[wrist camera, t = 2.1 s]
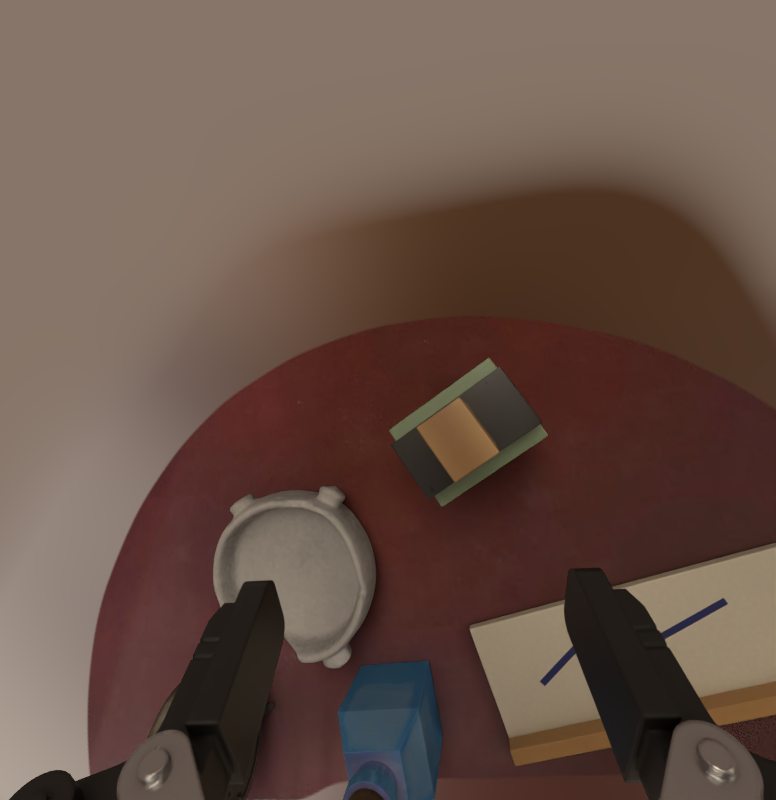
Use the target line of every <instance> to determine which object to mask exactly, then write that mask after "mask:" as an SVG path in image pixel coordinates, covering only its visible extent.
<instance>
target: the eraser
mask: <svg viewBox="0 0 776 800" xmlns="http://www.w3.org/2000/svg"><path fill="white" fill-rule="evenodd" d="M541 423H542V421H541V420H540V418H539V417H538V416H537V414H536V413H535V412H534V410H533V409H532V408H531V407H530V405H529V404H528V403H527V401H526V400H525V399H524V397H523V396H522V395H521V393H520V392H519V391H518V390H517V388H516V387H515V386H514V384H513V383H512V382H511V380H510V379H509V378H508V376H507V375H506V374H505V372H504V371H503V370H502V369H501V367H498V368H497V369H496V370H494V371H493V372H491V373H490V374H489V375H487V376H486V377H484V378H483V379H482V380H480V381H479V382H478V383H476V384H475V385H473V386H472V387H471V388H469V389H468V390H466V391H465V392H464V393H462V394H461V395H459V396H458V397H457V398H455V399H454V400H452V401H451V402H450V403H448V404H447V405H445V406H444V407H443V408H441V409H440V410H438V411H437V412H436V413H434V414H433V415H432V416H430V417H429V418H427V419H426V420H425V421H423V422H422V423H420V424H419V425H418V426H416V427H415V428H413V429H412V430H411V431H409V432H408V433H406V434H405V435H404V436H402V437H401V438H399V439H398V440H397V441H395V442H394V443H393V444H391V446H392V447H393V449H394V450H395V452H396V453H397V455H398V456H399V457H400V459H401V460H402V462H403V463H404V465H405V466H406V468H407V469H408V471H409V472H410V473H411V475H412V476H413V478H414V479H415V481H416V482H417V484H418V485H419V487H420V488H421V489H422V491H423V492H424V494H425V495H426V497H427V498H428V499H431V498H432V497H434V496H435V495H437V494H438V493H440V492H441V491H443V490H444V489H446V488H447V487H449V486H450V485H452V484H453V483H454V482H458V481H459V480H461V479H462V478H464V477H465V476H467V475H468V474H469V473H471V472H472V471H474V470H475V469H477V468H478V467H480V466H481V465H483V464H484V463H486V462H487V461H489V460H490V459H492V458H493V457H494V456H496V455H497V454H499V452H500V451H502V450H503V449H504V448H506V447H507V446H509V445H510V444H512V443H513V442H515V441H516V440H518V439H519V438H521V437H522V436H524V435H525V434H527V433H528V432H529V431H531V430H532V429H534V428H535V427H537V426H538V425H540V424H541Z"/></svg>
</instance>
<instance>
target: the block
mask: <svg viewBox="0 0 776 800" xmlns="http://www.w3.org/2000/svg"><path fill="white" fill-rule="evenodd" d="M496 369H497V367H496V366H495V365H494V363H493V362H492V361H491V359H490V358H488V359H486V360H485V361H484V362H482V363H481V364H480V365H478V366H477V367H475V368H474V369H473V370H471V371H470V372H468V373H467V374H466V375H464V376H463V377H462V378H460V379H459V380H457V381H456V382H455V383H453V384H452V385H451V386H449V387H448V388H446V389H445V390H444V391H442V392H441V393H440V394H438V395H437V396H435V397H434V398H433V399H431V400H430V401H428V402H427V403H426V404H424V405H423V406H422V407H420V408H419V409H417V410H416V411H415V412H413V413H412V414H411V415H409V416H408V417H406V418H405V419H404V420H402V421H401V422H399V423H398V424H397V425H395V426H394V427H393V428H391V429H390V430H389V431H390V433H391V434H392V436H393V437H394V439H395V440H396V441H397V440H398V439H399V438H401V437H402V436H404V435H405V434H406V433H408V432H409V431H411V430H412V429H413V428H415V427H416V426H418V425H419V424H420V423H422V422H423V421H425V420H426V419H427V418H429V417H430V416H432V415H433V414H434V413H436V412H437V411H438V410H440V409H441V408H443V407H444V406H445V405H447V404H448V403H450V402H451V401H452V400H454V399H455V398H457V397H458V396H459V395H461V394H462V393H464V392H465V391H466V390H468V389H469V388H471V387H472V386H473V385H475V384H476V383H478V382H479V381H480V380H482V379H483V378H484V377H486V376H487V375H489V374H490V373H491V372H493V371H494V370H496ZM547 436H548V434H547V433H546V431H545V430H544V429H543V428H542V426H541V425H538V426H537V427H535V428H534V429H532V430H531V431H529V432H528V433H527V434H525V435H524V436H522V437H521V438H519V439H518V440H516V441H515V442H513V443H512V444H510V445H509V446H507V447H506V448H504V449H503V450H502V451H500V452H499V454H497V455H496V456H494V457H493V458H492V459H490V460H489V461H487V462H486V463H484V464H483V465H481V466H480V467H478V468H477V469H475V470H474V471H472V472H471V473H469V474H468V475H467V476H465V477H464V478H462V479H461V480H459V481H458V482H454V483H453V484H452V485H450V486H449V487H447V488H446V489H444V490H443V491H441V492H440V493H438V494H437V495H435V496H434V497H435V498H436V499H437V501H438V502H439V504H440V505H441V506H442V507H443V506H444V505H446V504H447V503H449V502H450V501H452V500H453V499H455V498H456V497H458V496H459V495H461V494H462V493H464V492H465V491H467V490H468V489H470V488H471V487H473V486H474V485H476V484H477V483H479V482H480V481H482V480H483V479H485V478H486V477H487V476H489V475H490V474H492V473H493V472H495V471H496V470H498V469H499V468H501V467H502V466H504V465H505V464H507V463H508V462H510V461H511V460H513V459H514V458H516V457H517V456H519V455H520V454H522V453H523V452H525V451H526V450H528V449H529V448H531V447H532V446H534V445H535V444H536V443H538V442H539V441H541V440H542V439H544V438H545V437H547Z"/></svg>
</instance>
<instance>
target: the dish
mask: <svg viewBox="0 0 776 800" xmlns="http://www.w3.org/2000/svg"><path fill="white" fill-rule="evenodd" d="M344 500H345V495H344V493H342V492H341V491H340V490H339V489H338V488H337V487H336V486H330V487H327V486H322V487H321V488H320V490H319V493H318V492H313V491H306V490H288V491H281V492H277V493H273V494H270V495H267V496H265V497H262V498H259V499H256V498H255V497H254V496H253V495H252V494H249V495H247V496H245V497H243V498H241V499H240V500H238V501H237V502H236V503H235V504H233V505H232V507H231V508H230V511H231V513H232V514H233V515H234V518H233V520H232V521H231V522H230V523H229V524H228V526H227V527H226V528H225V530H224V531H223V533H222V535H221V537H220V540H219V542H218V545H217V548H216V552H215V556H214V566H213V581H214V589H215V593H216V596H217V598H218V601H219V604H220V607H221V606H222V605H223V604H224V603H235V601H236V598H237V596H238V593H239V591H240V589H241V586H242V585H243V583H244V582H246V581H264V580H272V581H274V583H275V586H276V590H277V593H278V597H279V601H280V604H281V608H282V611H283V615H284V621H285V632H284V638H285V639H286V640H287V641H288V642H289V644H290V645H291V646H292V647H293V649H294V650H295V651H296V653H297V657H298V659H299V660H300V661H301V662H302V663H314V662H318V661H323V662H324V665H325V666H326V667H327V668H340V667H341V666H343V665H344V664H345V663H346V662H347V661H348V660H349V659H350V657H351V653H352V650H351V647H350V645H349V641H350V640H351V639H352V638H353V636H354V635H355V634H356V632H357V631H358V630H359V628H360V627H361V625H362V623H363V621H364V620H365V618H366V615H367V613H368V611H369V608H370V605H371V602H372V599H373V595H374V590H375V584H376V565H375V558H374V553H373V549H372V546H371V543H370V541H369V538H368V536H367V534H366V532H365V530H364V529H363V527H362V525H361V524H360V522H359V520H358V519H357V518H356V517H355V515H354V514H353V513H352V511H351V510H349V509H348V508H347V507H346V506H345V505H344V504H343V503H342V502H343V501H344Z"/></svg>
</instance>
